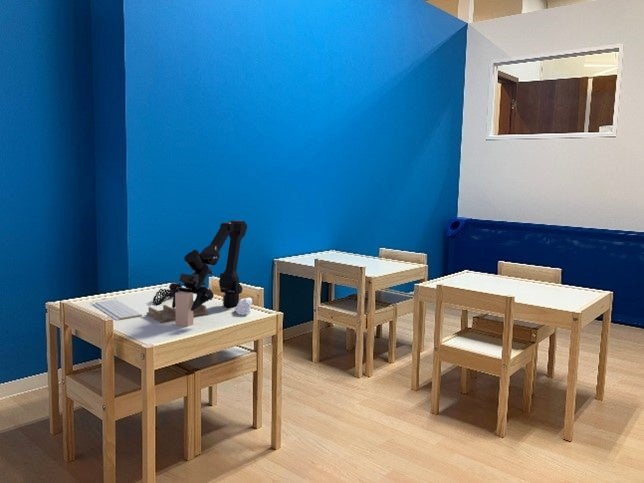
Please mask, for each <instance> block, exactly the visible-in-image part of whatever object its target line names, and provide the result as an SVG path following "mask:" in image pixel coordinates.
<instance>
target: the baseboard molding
mask: <svg viewBox="0 0 644 483" xmlns="http://www.w3.org/2000/svg"><path fill="white" fill-rule="evenodd" d="M104 300H105V301H104ZM98 301H99V302H98ZM89 304H90V306H94V307H95V308H97V309H98V310H100V311H101V310H102V312H103V313H104V312H105V313H104V314H106V315H108V316H109V317H110V318H112V317H113V318H112V319H114V320H115V319H116V320H115V321H121V320H128V319H135V318H139V317H141V318H142V317H143V314H142V313H140V312H139V311H137V310H135V309H134V308H132V307H130V306H128V305H126V304H125V303H123V302H121V301H119V300H118V299H115V298H112V299H111V300H108V298H105V297H104V298H103V301H100V300H97V301H95V302H94V303H93V302H90V303H89Z"/></svg>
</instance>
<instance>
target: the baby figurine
mask: <svg viewBox="0 0 644 483" xmlns="http://www.w3.org/2000/svg"><path fill="white" fill-rule="evenodd" d="M252 304H253V299H252V297H245V298H240V299H239V303H238V304H237V306H236V307H233V309H234V311H235V312H236V314H238V315H240V316H247V315H248V314H250V313H251V312H252V309H251V307H252Z"/></svg>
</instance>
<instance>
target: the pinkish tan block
mask: <svg viewBox="0 0 644 483" xmlns="http://www.w3.org/2000/svg"><path fill="white" fill-rule="evenodd" d="M193 301H194V294H193V293H191V292H184V291H180V292H176V293H175V311H176V320H175V325H177V326H183V327H190V326H193V325H194V317H193V311H191V307H192V305H193Z"/></svg>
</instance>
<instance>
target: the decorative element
mask: <svg viewBox="0 0 644 483" xmlns="http://www.w3.org/2000/svg"><path fill="white" fill-rule="evenodd" d="M167 297H168V298H173V292H172V291H171V290H170V289H169V288H167V289H166V288H164V289H163V288H160V289H159V290H158V291H157V292H156V293H155V295H154V296H153V299H152V304H153V305H154V306H159V305H160V304H162V303H163V302H164V301H165V300H166V298H167Z"/></svg>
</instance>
